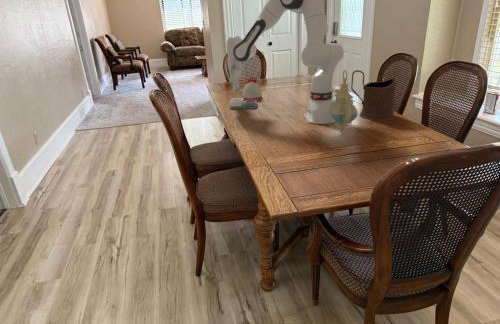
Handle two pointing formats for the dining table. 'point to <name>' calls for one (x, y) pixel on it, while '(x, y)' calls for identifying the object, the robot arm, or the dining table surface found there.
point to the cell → (236, 89)
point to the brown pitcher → (377, 99)
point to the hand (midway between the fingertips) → (236, 86)
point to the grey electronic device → (243, 104)
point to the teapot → (343, 106)
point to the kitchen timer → (251, 90)
